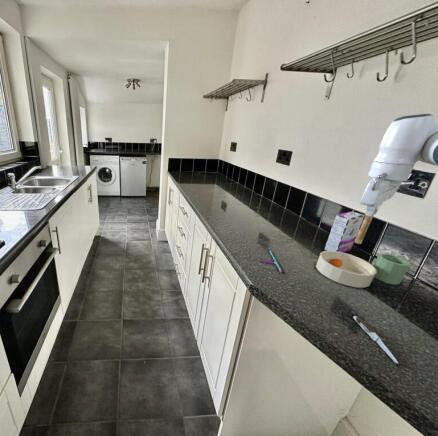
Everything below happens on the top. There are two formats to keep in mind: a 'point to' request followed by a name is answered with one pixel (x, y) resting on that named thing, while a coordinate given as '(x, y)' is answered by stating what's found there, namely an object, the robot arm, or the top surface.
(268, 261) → the squeegee
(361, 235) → the stirring stick
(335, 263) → the ball
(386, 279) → the holder
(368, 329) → the pocket knife
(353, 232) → the candy bar box
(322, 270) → the bowl
